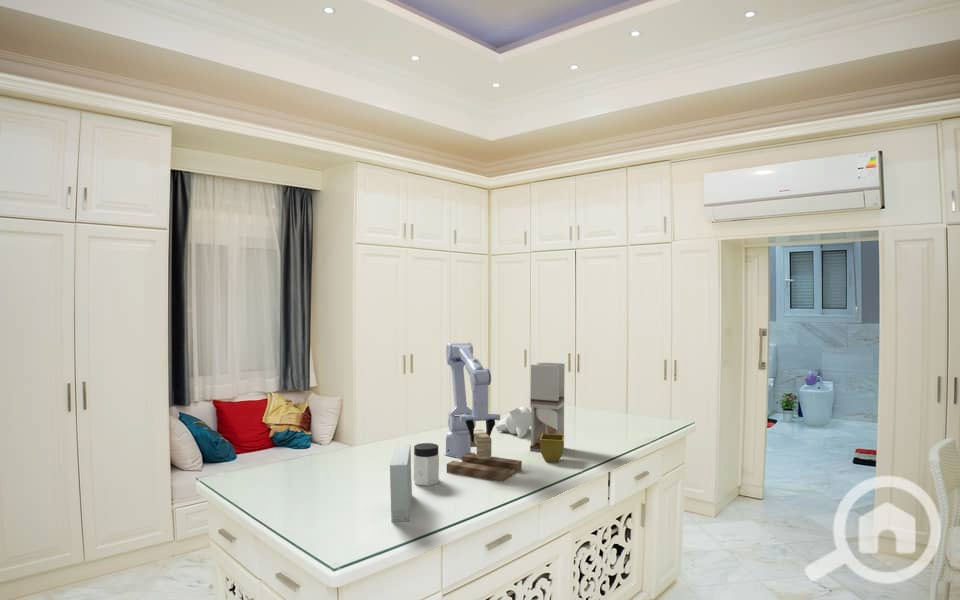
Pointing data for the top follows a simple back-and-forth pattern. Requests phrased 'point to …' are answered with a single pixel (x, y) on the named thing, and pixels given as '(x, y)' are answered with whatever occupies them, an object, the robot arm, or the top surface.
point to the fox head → (516, 422)
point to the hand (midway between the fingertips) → (479, 440)
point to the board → (485, 467)
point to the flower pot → (551, 447)
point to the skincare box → (400, 483)
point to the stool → (481, 443)
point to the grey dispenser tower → (546, 401)
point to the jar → (426, 464)
